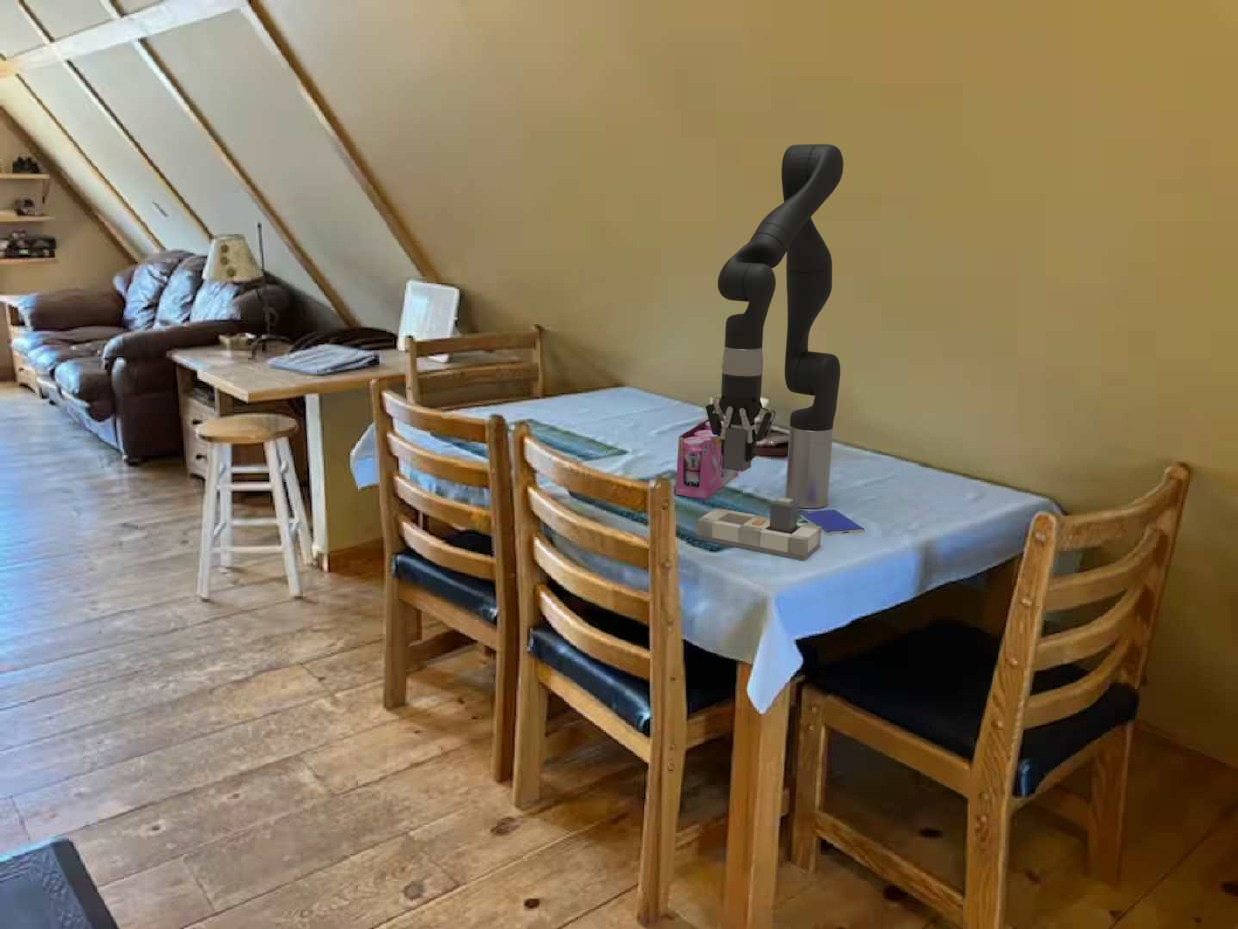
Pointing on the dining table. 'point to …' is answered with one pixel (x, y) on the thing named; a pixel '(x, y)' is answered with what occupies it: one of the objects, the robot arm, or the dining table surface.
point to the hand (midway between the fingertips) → (737, 458)
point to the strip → (757, 534)
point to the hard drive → (831, 522)
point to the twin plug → (784, 515)
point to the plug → (735, 448)
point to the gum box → (701, 463)
